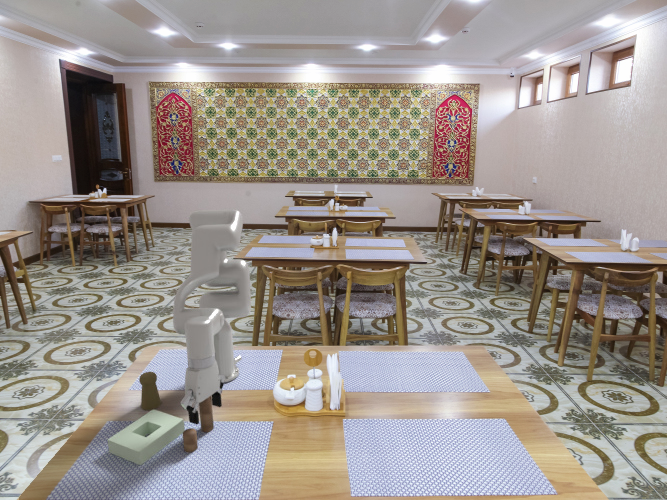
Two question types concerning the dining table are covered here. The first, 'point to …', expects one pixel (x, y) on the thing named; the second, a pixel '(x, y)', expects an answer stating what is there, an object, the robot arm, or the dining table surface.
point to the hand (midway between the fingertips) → (205, 414)
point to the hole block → (142, 448)
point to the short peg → (190, 440)
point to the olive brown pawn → (149, 391)
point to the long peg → (206, 415)
